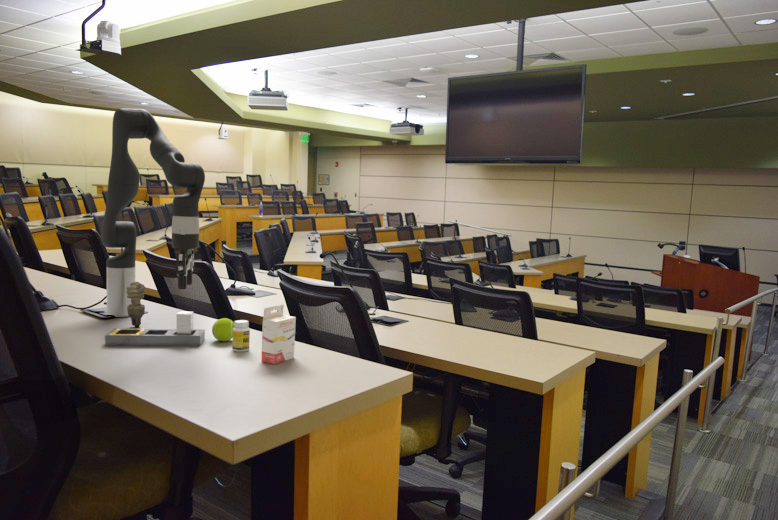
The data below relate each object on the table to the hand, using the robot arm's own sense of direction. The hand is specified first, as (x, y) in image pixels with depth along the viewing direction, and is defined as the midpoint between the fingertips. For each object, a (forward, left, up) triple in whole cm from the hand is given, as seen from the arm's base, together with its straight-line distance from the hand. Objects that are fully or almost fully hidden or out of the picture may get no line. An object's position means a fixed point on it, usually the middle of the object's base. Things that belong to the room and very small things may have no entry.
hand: (185, 286), depth 164 cm
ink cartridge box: (+18, +28, -17) cm, 37 cm away
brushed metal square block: (0, 0, -17) cm, 17 cm away
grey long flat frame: (0, -8, -17) cm, 19 cm away
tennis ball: (-2, +11, -17) cm, 20 cm away
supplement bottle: (+8, +17, -17) cm, 25 cm away
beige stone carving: (-19, -19, -17) cm, 32 cm away
